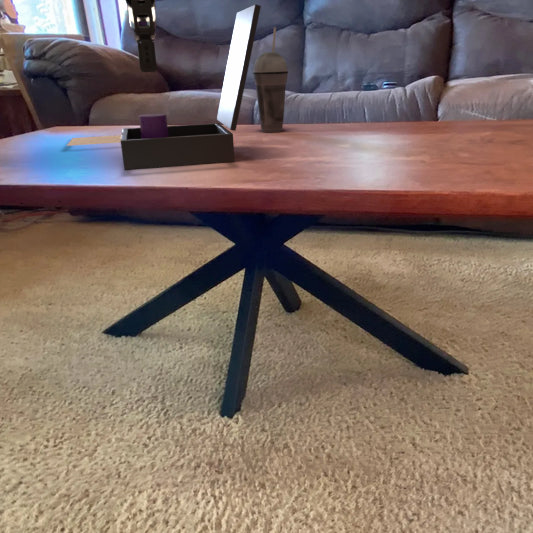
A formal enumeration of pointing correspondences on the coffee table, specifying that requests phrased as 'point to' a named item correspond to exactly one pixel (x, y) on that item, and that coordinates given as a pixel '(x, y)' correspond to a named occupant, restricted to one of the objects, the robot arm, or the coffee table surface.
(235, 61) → the lid
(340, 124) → the coffee table surface
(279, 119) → the beverage cup
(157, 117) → the purple cylinder
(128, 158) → the box
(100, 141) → the cork mat
